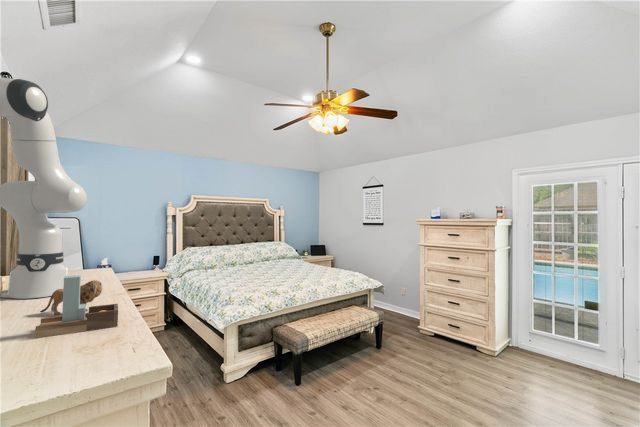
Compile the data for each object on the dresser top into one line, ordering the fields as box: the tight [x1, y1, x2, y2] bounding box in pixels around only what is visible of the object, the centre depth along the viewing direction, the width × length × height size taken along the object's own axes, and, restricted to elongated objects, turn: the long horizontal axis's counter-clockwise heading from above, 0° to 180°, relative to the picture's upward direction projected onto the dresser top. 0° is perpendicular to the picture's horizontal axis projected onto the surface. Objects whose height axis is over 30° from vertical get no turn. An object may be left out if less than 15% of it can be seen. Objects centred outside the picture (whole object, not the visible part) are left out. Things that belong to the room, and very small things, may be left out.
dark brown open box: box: [86, 303, 119, 332], centre depth 78 cm, size 7×6×4 cm
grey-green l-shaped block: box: [61, 274, 87, 323], centre depth 75 cm, size 4×4×11 cm
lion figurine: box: [39, 279, 103, 316], centre depth 87 cm, size 15×5×9 cm, turn 106°
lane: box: [34, 312, 88, 339], centre depth 74 cm, size 7×9×2 cm
